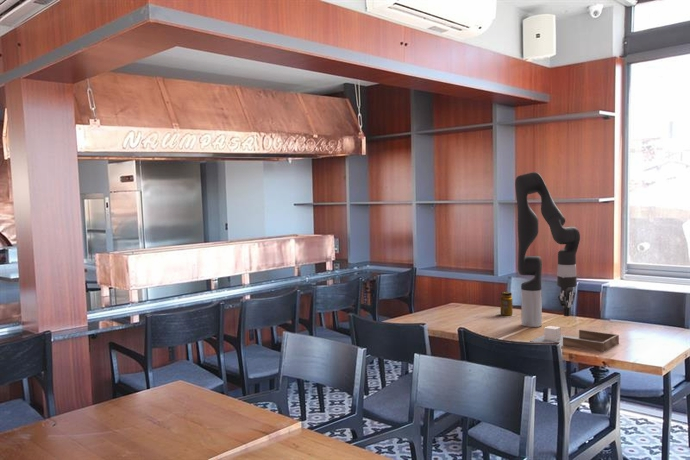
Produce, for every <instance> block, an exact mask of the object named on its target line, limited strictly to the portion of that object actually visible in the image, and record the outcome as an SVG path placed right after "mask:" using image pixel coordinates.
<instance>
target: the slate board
mask: <svg viewBox="0 0 690 460" xmlns="http://www.w3.org/2000/svg"><path fill="white" fill-rule="evenodd" d="M563 337H568V338H574V339H581V340H588V341H595V342H603V341H596V340H589V339H582V338H579V336H578V337H577V336H569V335H563V334H561V339H560V340H558V341H551V340H544V334H543V335H541V336H538V337H536V338H533V339H531V340H529V343H530V342H533V343H540V342H560V343H561V347H566V348H568V347H567V346H563ZM618 345H619V344H617V345H615V346H613V347H611V348H610V349H608V350H606V351H604V352H603V353H605V352H607V351H609V350H611V349H612V348H614V347H616V346H618ZM571 348H572V349H573V347H571ZM577 349H579V350H581V349H580V348H577ZM584 350H585V351H587V350H586V349H584ZM590 351H592V352H593V350H590ZM596 352H598V353H600V352H599V351H596Z"/></svg>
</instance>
